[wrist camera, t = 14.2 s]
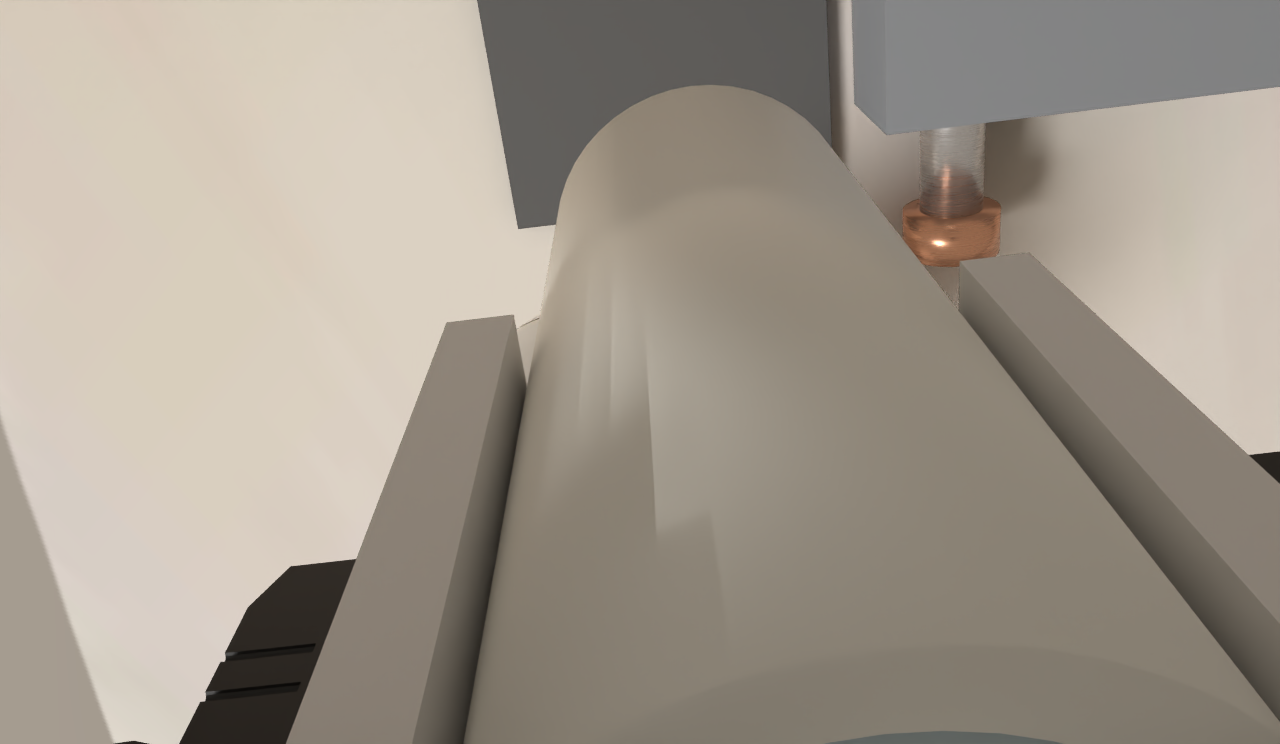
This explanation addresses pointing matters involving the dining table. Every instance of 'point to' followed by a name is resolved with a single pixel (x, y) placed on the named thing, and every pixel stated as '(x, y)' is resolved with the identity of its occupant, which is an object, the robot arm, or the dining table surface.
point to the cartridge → (802, 485)
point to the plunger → (952, 200)
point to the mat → (635, 71)
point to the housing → (1052, 56)
